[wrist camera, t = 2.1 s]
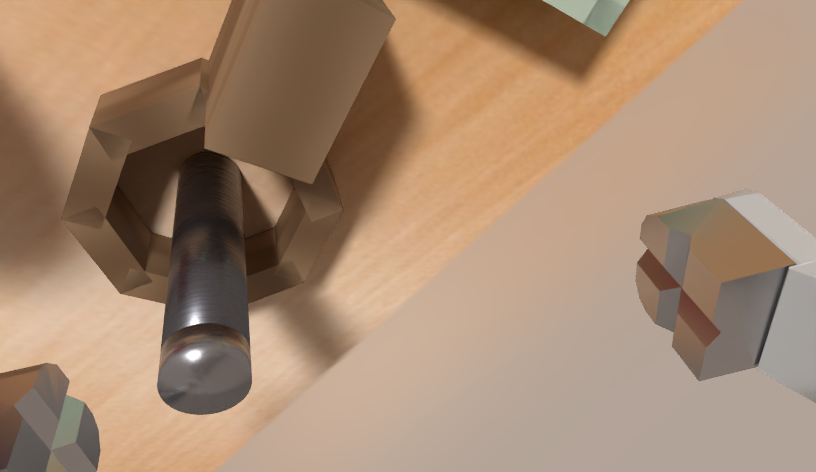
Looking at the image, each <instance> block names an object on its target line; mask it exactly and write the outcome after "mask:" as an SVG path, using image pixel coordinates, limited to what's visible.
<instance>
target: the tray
mask: <svg viewBox="0 0 816 472" xmlns="http://www.w3.org/2000/svg"><path fill="white" fill-rule="evenodd" d="M543 1H545V2H546V3H548V4H550V5H552V6H553V7H555V8H557V9H558V10H560V11H562V12H564V13H565V14H567V15H569V16H570V17H572V18H574V19H576V20H577V21H579V22H581V23H583V24H584V25H586V26H588V27H589V28H591V29H593V30H595V31H596V32H598V33H600V34H601V35H603V36H605V37H606V35H607V34H608V32H609V31H610V29H611V28H612V26H613V25H614V23H615V22H616V20H617V19H618V17H619V16H620V14H621V13H622V11H623V10H624V8H625V7H626V5H627V4H628V2H629V1H630V0H543Z"/></svg>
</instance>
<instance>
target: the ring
mask: <svg viewBox="0 0 816 472" xmlns="http://www.w3.org/2000/svg"><path fill="white" fill-rule="evenodd" d="M395 20H396V19H395V17H394V16H393V14H392V13H391V12H390V10H389V9H388V7H387V6H386V4H385V3H384V2H383V0H232V2H231V4H230V7H229V10H228V12H227V15H226V17H225V20H224V23H223V25H222V28H221V31H220V33H219V36H218V38H217V41H216V44H215V46H214V49H213V51H212V54H211V57H210V59H209V61H208V60H205V59H203V58H200V59H198V60H195V61H192V62H190V63H187V64H184V65H181V66H179V67H176V68H173V69H171V70H168V71H165V72H163V73H160V74H157V75H154V76H152V77H149V78H146V79H144V80H141V81H138V82H135V83H133V84H130V85H127V86H125V87H122V88H119V89H117V90H114V91H111V92H108V93H106V94H103V95H101V96H100V99H99V102H98V105H97V107H96V110H95V113H94V116H93V118H92V121H91V124H90V126H89V130H88V134H87V137H86V140H85V143H84V147H83V150H82V153H81V156H80V160H79V163H78V166H77V169H76V173H75V176H74V179H73V182H72V185H71V189H70V192H69V195H68V198H67V202H66V205H65V208H64V211H63V214H62V217H61V220H62V221H63V223H64V224H65V225H66V226H67V228H68V229H69V230H70V231H71V233H72V234H73V235H74V236H75V238H76V239H77V240H78V241H79V243H80V244H81V245H82V246H83V248H84V249H85V250H86V251H87V253H88V254H89V255H90V256H91V258H92V259H93V260H94V261H95V263H96V264H97V265H98V266H99V268H100V269H101V270H102V271H103V273H104V274H105V275H106V276H107V278H108V279H109V280H110V281H111V283H112V284H113V285H114V286H115V288H116V289H117V290H118V292H119V293H120V294H124V295H128V296H133V297H137V298H142V299H146V300H151V301H155V302H160V303H164V304H166V295H167V285H168V276H169V266H170V256H171V246H172V238H169V237H165V236H161V235H157V234H154V233H151V232H150V231H149V229H148V228H147V226H146V225H145V224H144V222H143V221H142V219H141V218H140V216H139V215H138V214H137V212H136V211H135V209H134V208H133V206H132V205H131V203H130V202H129V201H128V199H127V198H126V196H125V195H124V193H123V192H122V190H121V189H120V188H119V186H118V185H117V182H118V179H119V176H120V174H121V171H122V168H123V165H124V162H125V159H126V156H127V155H128V154H130V153H133V152H136V151H138V150H141V149H144V148H146V147H149V146H152V145H154V144H157V143H160V142H162V141H165V140H168V139H171V138H173V137H176V136H179V135H181V134H184V133H187V132H189V131H192V130H195V129H197V128H200V127H205V144H204V148H205V149H208V150H211V151H214V152H217V153H220V154H223V155H226V156H229V157H232V158H235V159H238V160H241V161H244V162H247V163H250V164H253V165H255V166H258V167H261V168H264V169H267V170H270V171H273V172H276V173H279V174H282V175H285V176H288V177H290V178H291V180H292V182H293V184H294V189H293V191H292V193H291V195H290V198H289V200H288V202H287V204H286V206H285V208H284V210H283V212H282V214H281V216H280V218H279V220H278V222H277V224H276V226H275V228H273V229H270V230H268V231H265V232H262V233H260V234H257V235H254V236H252V237H249V238H246V239H245V258H246V277H247V297H248V303H251V302H254V301H256V300H259V299H262V298H264V297H267V296H269V295H272V294H275V293H277V292H280V291H283V290H285V289H288V288H291V287H293V286H296V285H299V284H301V283H304V281H305V279H306V277H307V275H308V274H309V272H310V270H311V268H312V266H313V264H314V263H315V261H316V259H317V257H318V255H319V253H320V252H321V250H322V248H323V246H324V244H325V242H326V241H327V239H328V237H329V235H330V233H331V231H332V229H333V228H334V226H335V224H336V222H337V220H338V218H339V217H340V215H341V213H342V211H343V207H342V204H341V200H340V197H339V193H338V190H337V186H336V182H335V179H334V176H333V174H332V171H331V169H330V167H329V164H328V162H327V160H326V156H327V154H328V152H329V150H330V148H331V146H332V144H333V142H334V140H335V138H336V136H337V134H338V132H339V130H340V128H341V126H342V124H343V122H344V120H345V118H346V116H347V114H348V112H349V110H350V108H351V107H352V105H353V103H354V101H355V99H356V97H357V95H358V93H359V91H360V89H361V87H362V85H363V83H364V81H365V79H366V77H367V75H368V73H369V71H370V69H371V67H372V65H373V63H374V61H375V59H376V57H377V55H378V53H379V51H380V49H381V47H382V45H383V43H384V41H385V39H386V37H387V35H388V33H389V31H390V30H391V28H392V26H393V24H394V22H395Z"/></svg>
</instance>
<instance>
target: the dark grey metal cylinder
mask: <svg viewBox="0 0 816 472" xmlns="http://www.w3.org/2000/svg"><path fill="white" fill-rule="evenodd" d="M251 384H252V373H251V354H250V335H249V316H248V297H247V277H246V258H245V239H244V220H243V201H242V182H241V173H240V170H239V168H238V167H237V165H236V164H235V163H234V162H233V161H232V160H231V159H230V158H228V157H226V156H224V155H222V154H219V153H214V152H203V153H199V154H196V155H194V156H192V157H190V158H189V159H187V160H186V161H185V162H184V163H183V165H182V166H181V168H180V171H179V177H178V187H177V197H176V207H175V217H174V226H173V236H172V246H171V256H170V266H169V276H168V285H167V295H166V305H165V315H164V325H163V334H162V344H161V354H160V364H159V374H158V383H157V388H158V393H159V395H160V397H161V398H162V400H163V401H164V402H165V403H166V404H167V405H169V406H170V407H172V408H174V409H176V410H178V411H181V412H184V413H189V414H197V415H204V414H213V413H218V412H221V411H224V410H227V409H229V408H231V407H233V406H235V405H237V404H238V403H239V402H241V401H242V400H243V399H244V398H245V397H246V395H247V394H248V392H249V390H250V388H251Z"/></svg>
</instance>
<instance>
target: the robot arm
mask: <svg viewBox="0 0 816 472" xmlns="http://www.w3.org/2000/svg"><path fill="white" fill-rule="evenodd" d="M640 239H641V241H642V242H643V243H644V244H645V246H646V247H647V248H648V249H647V250H646V252H645V253H644V254H643V256H642V257H641V258H640V260H639V261H638V262H637V268H636V285H637V289H638V293H639V298H640V300H641V302H642V304H643V306H644V308H645V310H646V312H647V313H648V315H649V316H650V318H651V319H652V320H653V322H654V323H655V324H657V325H659V326H661V327H663V328H666V329H668V330H670V331H672V332H674V334H673V342H672V347H673V348H674V349H675V351H676V352H677V353H678V355H680V357H681V359H682V360H683V361H684V362H685V364H686V365H687V366H688V368H689V369H690V370H691V372H692V373H693V374H694V375H695V377H696V378H697V379H698V380H699V381H701V380H706V379H710V378H713V377H718V376H722V375H726V374H730V373H734V372H738V371H742V370H746V369H750V368H754V367H758V368H757V370H758V371H760V372H762V373H763V374H765V375H767V376H769V377H770V378H772V379H774V380H776V381H777V382H779V383H781V384H783V385H785V386H786V387H788V388H790V389H792V390H793V391H795V392H797V393H799V394H801V395H803V396H804V397H806V398H808V399H809V400H811V401H813V402H815V403H816V238H815V237H814V236H812V235H811V234H810V233H809V232H807V231H806V230H805V229H803V228H802V227H801V226H800V225H799V224H797V223H796V222H795V221H794V220H792V219H791V218H790V217H789V216H787V215H786V214H785V213H784V212H782V211H781V210H780V209H779V208H777V207H776V206H775V205H774V204H772V203H771V202H770V201H769V200H767V199H766V198H765V197H764V196H762V195H761V194H760V193H759V192H756V191H753V190H749V189H745V190H742V191H738V192H734V193H730V194H726V195H722V196H719V197H715V198H713V199H711V200H706V201H702V202H698V203H694V204H690V205H686V206H682V207H678V208H674V209H670V210H666V211H662V212H658V213H654V214H650V215H647V216H646V218H645V219H644V221H643V223H642V226H641V233H640ZM68 385H69V379H68V378H67V377H66V376H65V374H64V373H63V372H62V370H61V369H60V368H59V367H58V365H57V364H49V363H44V364H40V365H35V366H31V367H26V368H22V369H17V370H13V371H9V372H4V373H0V472H96V471H97V468H98V462H99V456H100V442H99V430H98V427H97V424H96V422H95V419H94V416H93V414H92V413H91V411H90V410H89V408H88V407H87V405H86V404H85V402H82V401H80V400H77V399H75V398H72V397H70V396H67V395H66V393H67V389H68Z"/></svg>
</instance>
